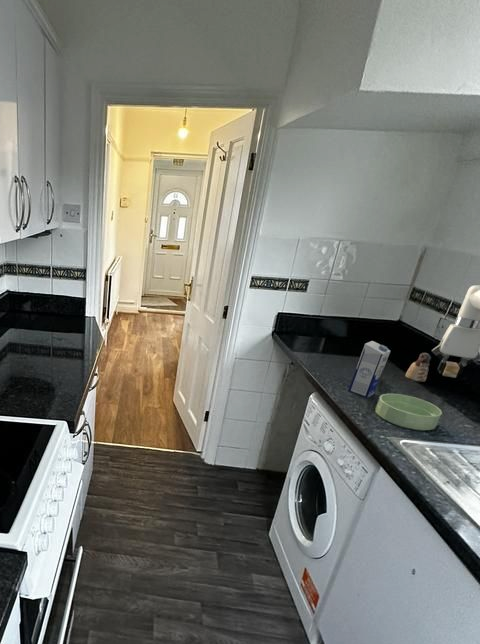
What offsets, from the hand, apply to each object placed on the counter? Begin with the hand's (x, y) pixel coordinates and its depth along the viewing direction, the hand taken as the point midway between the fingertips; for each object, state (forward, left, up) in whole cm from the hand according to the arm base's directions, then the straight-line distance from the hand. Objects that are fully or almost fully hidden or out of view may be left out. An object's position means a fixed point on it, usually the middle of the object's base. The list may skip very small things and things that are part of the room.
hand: (448, 373), depth 145 cm
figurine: (+3, -29, -13) cm, 32 cm away
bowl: (+10, +19, -13) cm, 25 cm away
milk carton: (+23, +4, -13) cm, 27 cm away
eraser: (0, 0, 0) cm, 0 cm away
